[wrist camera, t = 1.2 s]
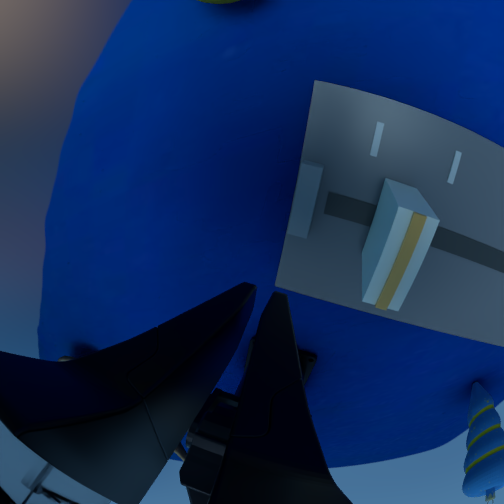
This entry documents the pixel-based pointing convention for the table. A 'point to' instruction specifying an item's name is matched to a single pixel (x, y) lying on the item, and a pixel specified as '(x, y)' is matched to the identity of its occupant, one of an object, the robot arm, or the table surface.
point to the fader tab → (396, 245)
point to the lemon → (218, 1)
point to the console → (366, 200)
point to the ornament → (483, 447)
